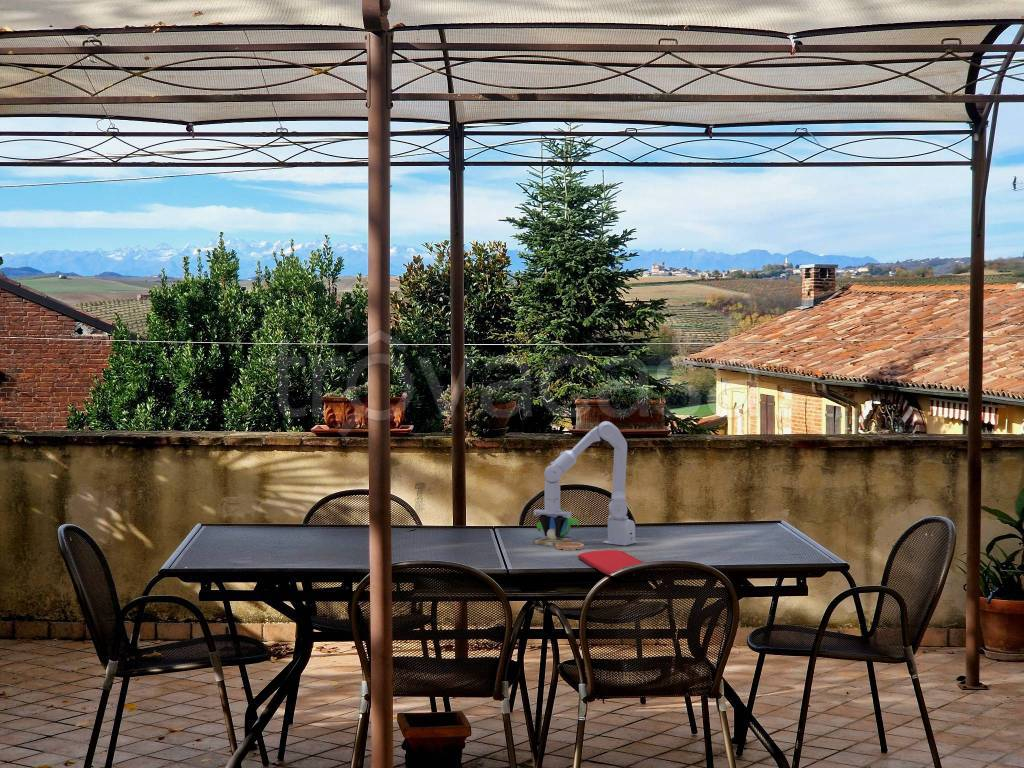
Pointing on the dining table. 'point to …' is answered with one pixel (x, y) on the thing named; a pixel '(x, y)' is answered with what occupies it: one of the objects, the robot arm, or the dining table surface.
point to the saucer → (569, 545)
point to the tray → (551, 541)
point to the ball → (551, 534)
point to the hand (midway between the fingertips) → (552, 536)
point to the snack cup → (565, 527)
